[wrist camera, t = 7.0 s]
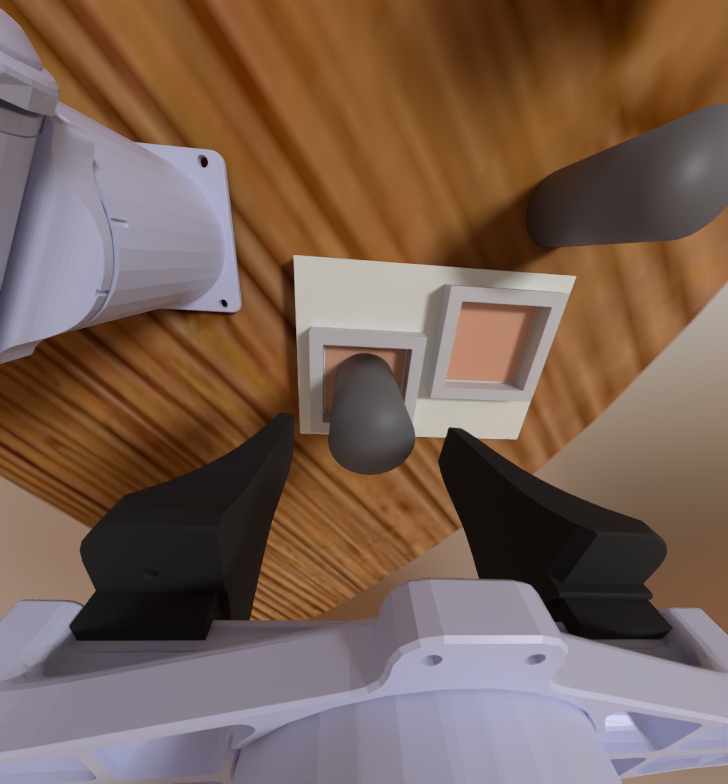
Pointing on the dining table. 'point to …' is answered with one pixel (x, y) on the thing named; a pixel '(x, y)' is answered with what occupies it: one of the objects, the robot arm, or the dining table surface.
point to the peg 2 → (638, 187)
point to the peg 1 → (369, 417)
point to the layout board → (428, 339)
